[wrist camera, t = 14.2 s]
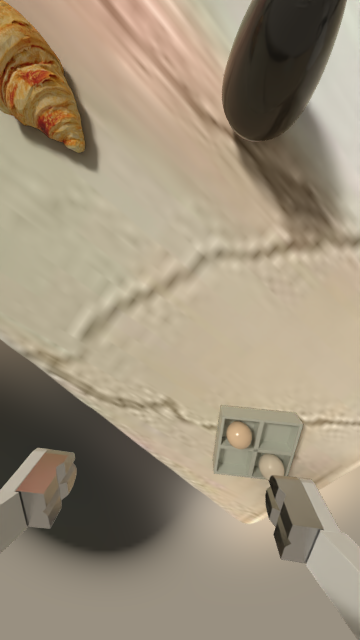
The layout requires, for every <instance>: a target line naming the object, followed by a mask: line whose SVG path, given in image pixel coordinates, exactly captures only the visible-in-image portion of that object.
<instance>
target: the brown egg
mask: <svg viewBox="0 0 360 640" xmlns="http://www.w3.org/2000/svg"><path fill="white" fill-rule="evenodd" d="M226 435H227V439H228V441H229V443H230V444H231V445H232V446H233V447H234V448H236V449H245V448H247V447H248V446H249V445H250V444H251V441H252V433H251V430H250V428H249V427H248V426H247V425H246V424H245V423H243V422H241V421H234V422H232V423H231V424H230V425H229V426H228V428H227V431H226Z"/></svg>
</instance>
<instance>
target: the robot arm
mask: <svg viewBox="0 0 360 640" xmlns="http://www.w3.org/2000/svg"><path fill="white" fill-rule="evenodd" d="M74 460H75V455H74V453H72V452H64V451H57V450H50V449H43V448H37V449H36V450H34V451H33V452H32V453H31V454H30V455H29V457H28V458H27V459H26V460H25V462H24V463H23V464H22V465H21V466H20V468H19V469H18V470H17V471H16V472H15V473H14V475H13V476H12V477H11V478H10V479H9V480H8V482H7V483H6V484H5V485H4V486H3V488H2V489H1V490H0V553H1V552H3V551H4V550H5V549H6V548H7V547H8V546H9V545H10V544H11V543H12V542H13V541H14V540H15V539H16V538H17V537H18V536H20V535H21V534H22V533H23V532H24V531H25V530H26V529H27V526H29V527H39V528H51V526H52V524H53V522H54V520H55V519H56V517H57V515H58V513H59V511H60V509H61V508H62V504H61V500H62V499H63V498H64V497H66V496H67V495H68V494H69V492H70V490H71V489H72V486H73V484H74V481H75V478H76V466H75V465H74V464H73V461H74ZM269 483H270V487H269V488H268V489H267V490H266V495H265V498H266V508H267V513H268V517H269V519H270V520H271V522H272V523H273V525H274V526H275V527H276V528H275V531H274V538H275V541H276V544H277V548H278V551H279V555H280V558H281V559H282V560H288V561H294V562H300V563H306V566H307V568H308V569H309V570H310V572H311V573H312V575H313V576H314V578H315V579H316V581H317V582H318V583H319V585H320V586H321V588H322V589H323V591H324V592H325V593H326V595H327V596H328V598H329V599H330V600H331V602H332V604H333V605H334V606H335V608H336V609H337V611H338V612H339V613H340V615H341V616H342V618H343V619H344V621H345V622H346V624H347V625H348V626H349V628H350V629H351V631H352V632H353V634H354V635H355V637H356V638H357V639H358V640H360V547H359V546H358V545H357V544H356V543H355V542H354V541H353V540H352V539H351V538H350V537H349V536H348V535H347V534H346V533H343V532H341V531H340V529H339V527H338V525H337V524H336V522H335V520H334V518H333V516H332V514H331V513H330V511H329V509H328V507H327V505H326V503H325V502H324V500H323V498H322V496H321V494H320V492H319V490H318V488H317V487H316V485H315V483H314V482H313V481H312V480H311V479H304V478H297V477H288V476H278V475H272V476H270V479H269Z"/></svg>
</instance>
